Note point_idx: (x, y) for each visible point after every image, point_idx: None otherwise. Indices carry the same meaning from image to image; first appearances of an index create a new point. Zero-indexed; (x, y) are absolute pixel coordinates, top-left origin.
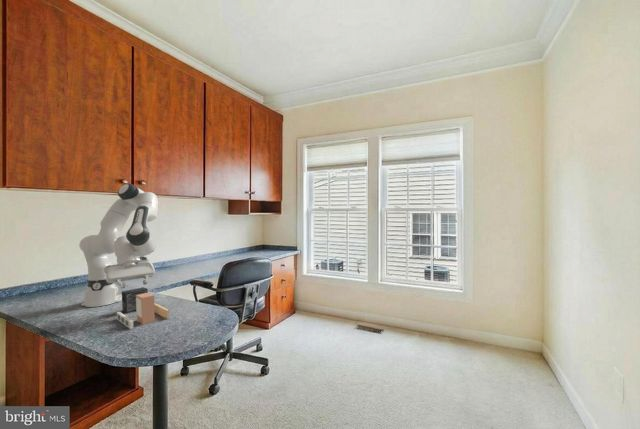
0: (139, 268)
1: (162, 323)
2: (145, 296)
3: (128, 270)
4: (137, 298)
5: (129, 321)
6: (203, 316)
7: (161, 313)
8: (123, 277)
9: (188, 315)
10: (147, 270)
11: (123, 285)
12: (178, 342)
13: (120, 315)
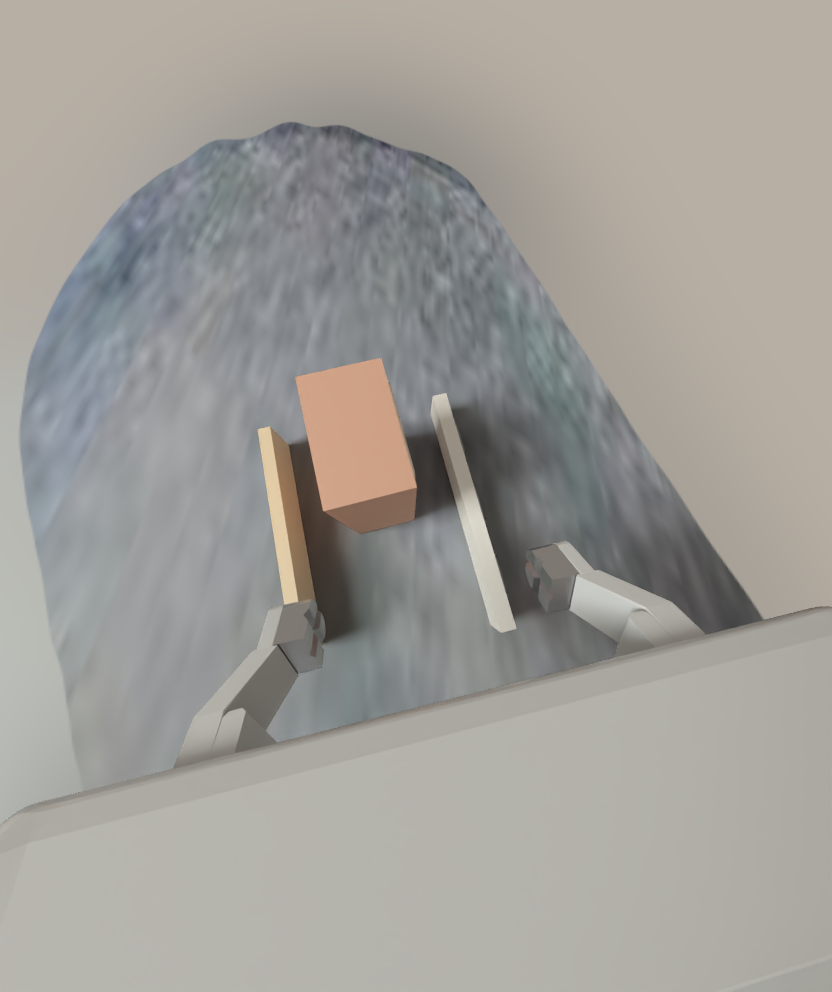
0: None
1: None
2: (355, 386)
3: (619, 937)
4: (407, 446)
5: (448, 401)
6: (147, 373)
7: (295, 511)
8: (617, 659)
9: (193, 432)
10: (76, 912)
11: (549, 548)
12: (312, 192)
13: (492, 548)
